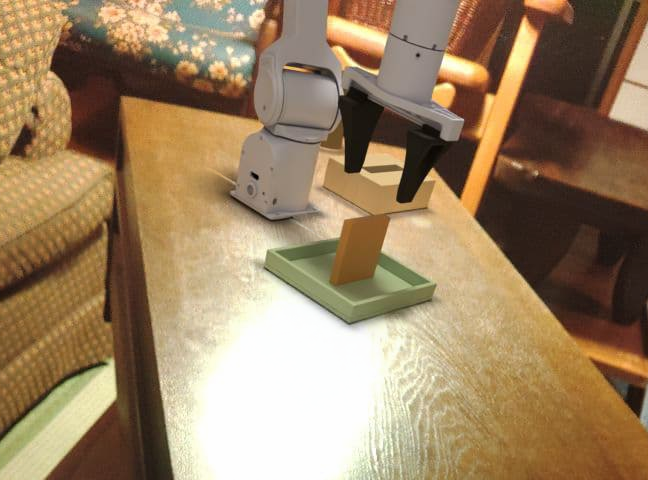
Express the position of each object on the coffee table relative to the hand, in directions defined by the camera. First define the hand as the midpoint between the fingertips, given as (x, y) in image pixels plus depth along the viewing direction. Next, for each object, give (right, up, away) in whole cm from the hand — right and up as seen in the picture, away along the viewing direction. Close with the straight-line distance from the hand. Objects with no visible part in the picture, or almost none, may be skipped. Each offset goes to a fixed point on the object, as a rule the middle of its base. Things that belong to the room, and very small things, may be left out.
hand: (377, 186), depth 80 cm
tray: (-3, -9, +5) cm, 10 cm away
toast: (-3, -8, +5) cm, 10 cm away
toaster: (+1, +12, +29) cm, 31 cm away
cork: (-7, +27, +43) cm, 51 cm away
